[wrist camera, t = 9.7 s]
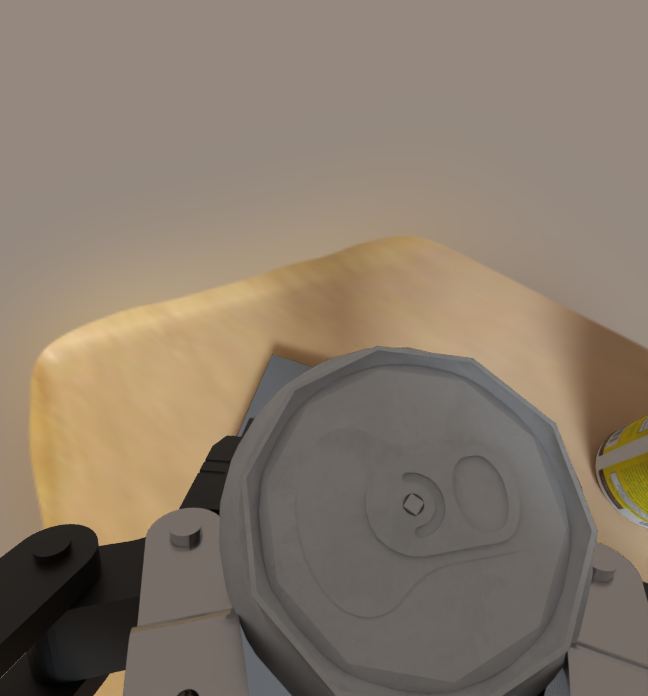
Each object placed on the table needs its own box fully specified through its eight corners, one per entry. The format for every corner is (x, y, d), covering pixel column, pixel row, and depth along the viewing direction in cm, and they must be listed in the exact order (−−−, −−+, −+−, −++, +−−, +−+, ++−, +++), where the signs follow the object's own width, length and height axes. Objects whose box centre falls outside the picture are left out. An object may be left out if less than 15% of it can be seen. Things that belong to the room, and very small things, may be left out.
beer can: (279, 490, 17) (189, 344, 6) (410, 468, 17) (542, 291, 6) (298, 646, 15) (214, 833, 4) (446, 618, 15) (727, 725, 4)
